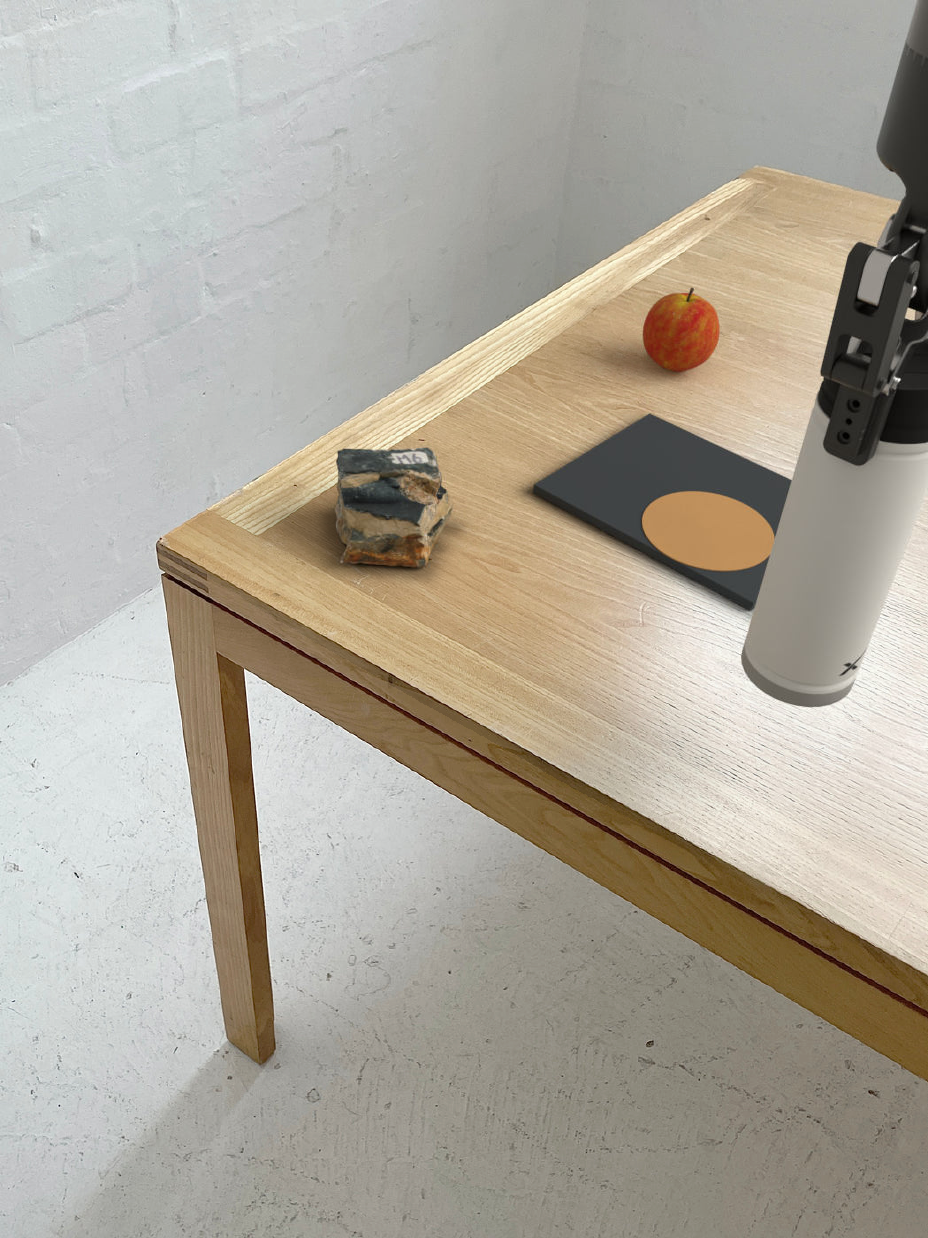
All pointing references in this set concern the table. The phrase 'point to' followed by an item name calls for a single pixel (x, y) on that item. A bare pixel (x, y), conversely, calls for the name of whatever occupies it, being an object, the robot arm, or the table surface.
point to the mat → (678, 503)
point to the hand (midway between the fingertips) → (880, 428)
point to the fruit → (681, 331)
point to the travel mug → (838, 550)
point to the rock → (390, 505)
